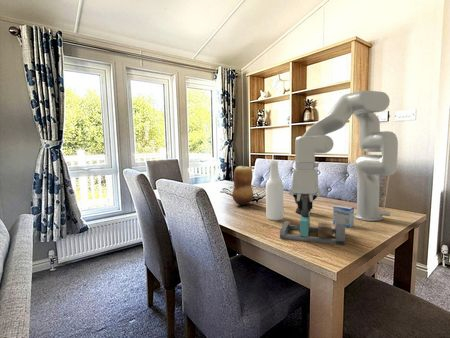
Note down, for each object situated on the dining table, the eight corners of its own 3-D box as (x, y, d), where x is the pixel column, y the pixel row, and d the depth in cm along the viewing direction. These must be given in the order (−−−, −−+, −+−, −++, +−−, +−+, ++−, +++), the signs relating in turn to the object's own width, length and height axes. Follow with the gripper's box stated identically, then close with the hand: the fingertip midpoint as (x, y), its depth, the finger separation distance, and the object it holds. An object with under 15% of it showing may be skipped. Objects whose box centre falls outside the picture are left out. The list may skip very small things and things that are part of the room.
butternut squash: (252, 207, 152) (251, 167, 150) (231, 207, 155) (229, 167, 152) (254, 202, 166) (253, 165, 164) (234, 202, 168) (233, 165, 166)
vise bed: (342, 232, 105) (342, 214, 105) (344, 245, 92) (345, 224, 92) (284, 227, 114) (284, 210, 114) (279, 238, 101) (279, 219, 101)
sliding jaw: (309, 225, 110) (309, 194, 109) (307, 236, 97) (307, 201, 96) (302, 225, 111) (302, 193, 110) (299, 236, 98) (299, 200, 97)
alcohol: (272, 221, 123) (271, 161, 121) (263, 217, 131) (262, 160, 129) (287, 219, 126) (286, 160, 124) (277, 215, 135) (276, 159, 132)
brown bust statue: (314, 216, 130) (314, 178, 128) (297, 216, 130) (297, 179, 129) (307, 210, 142) (307, 175, 140) (292, 210, 142) (292, 176, 140)
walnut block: (331, 235, 103) (331, 223, 102) (331, 239, 98) (331, 227, 98) (318, 234, 105) (318, 222, 104) (318, 238, 100) (318, 226, 100)
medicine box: (332, 224, 116) (332, 206, 116) (336, 222, 119) (336, 204, 119) (350, 228, 111) (350, 209, 110) (353, 225, 114) (354, 207, 113)
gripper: (326, 165, 102) (326, 209, 104) (285, 165, 108) (286, 206, 110) (326, 167, 95) (326, 214, 97) (283, 167, 101) (283, 211, 103)
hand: (305, 209), depth 103 cm, fingers closed on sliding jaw, 3 cm apart
